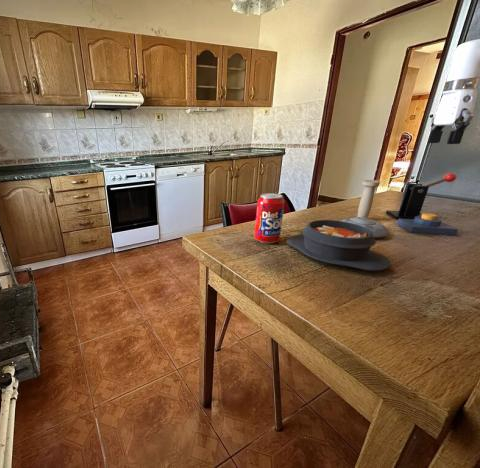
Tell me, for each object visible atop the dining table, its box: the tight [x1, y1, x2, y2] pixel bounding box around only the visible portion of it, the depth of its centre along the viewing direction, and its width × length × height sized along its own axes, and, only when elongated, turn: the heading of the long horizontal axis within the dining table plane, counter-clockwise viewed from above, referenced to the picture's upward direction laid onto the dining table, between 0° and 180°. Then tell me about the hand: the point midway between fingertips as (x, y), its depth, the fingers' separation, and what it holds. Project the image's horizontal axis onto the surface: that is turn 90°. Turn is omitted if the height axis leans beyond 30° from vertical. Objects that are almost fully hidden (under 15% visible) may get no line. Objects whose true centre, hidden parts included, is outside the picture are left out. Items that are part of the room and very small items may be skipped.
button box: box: [396, 216, 459, 236], centre depth 88 cm, size 12×9×4 cm
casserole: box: [286, 219, 392, 272], centre depth 71 cm, size 25×19×8 cm
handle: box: [356, 179, 381, 218], centre depth 98 cm, size 5×6×15 cm
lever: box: [410, 172, 457, 191], centre depth 96 cm, size 13×3×3 cm, turn 74°
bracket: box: [385, 183, 430, 221], centre depth 100 cm, size 11×9×13 cm
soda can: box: [253, 192, 286, 245], centre depth 81 cm, size 8×8×15 cm
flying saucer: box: [340, 216, 390, 239], centre depth 87 cm, size 15×15×6 cm
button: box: [421, 212, 438, 220], centre depth 87 cm, size 4×4×2 cm
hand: (442, 143), depth 88 cm, fingers open, 9 cm apart
